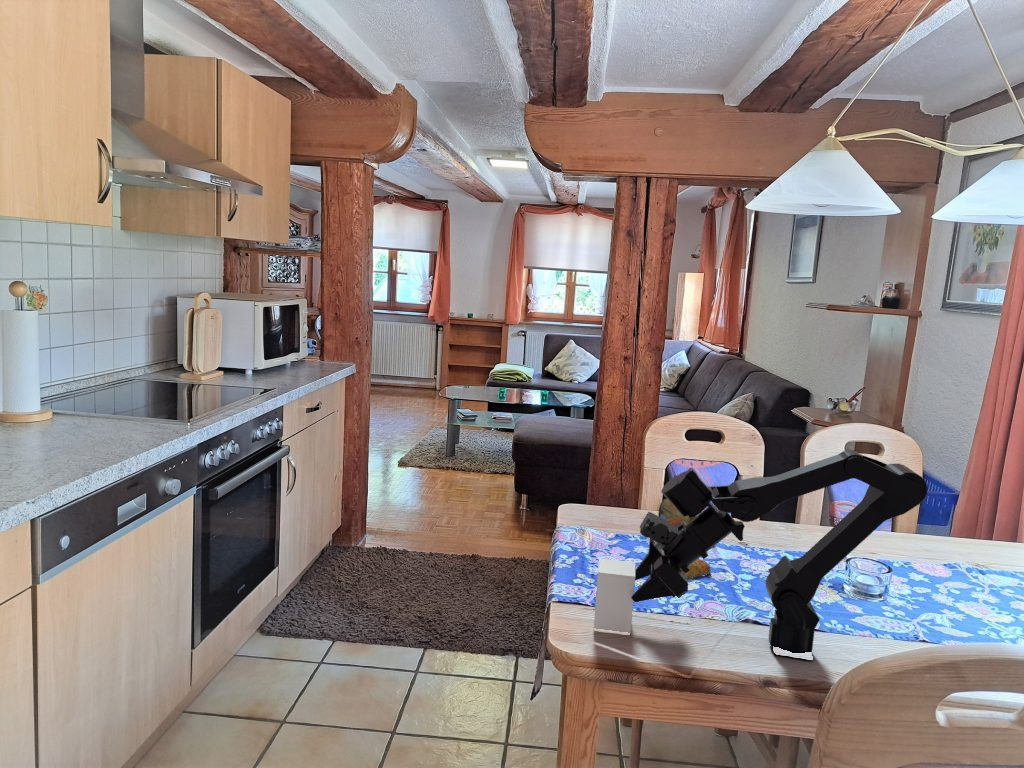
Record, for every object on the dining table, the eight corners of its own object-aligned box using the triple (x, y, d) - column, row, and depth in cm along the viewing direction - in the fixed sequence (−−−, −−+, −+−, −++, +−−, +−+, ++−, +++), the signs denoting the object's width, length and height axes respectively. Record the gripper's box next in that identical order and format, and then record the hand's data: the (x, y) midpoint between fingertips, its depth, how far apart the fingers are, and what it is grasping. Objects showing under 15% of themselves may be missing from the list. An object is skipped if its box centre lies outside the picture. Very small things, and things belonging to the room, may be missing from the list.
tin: (656, 525, 187) (658, 494, 186) (667, 525, 188) (669, 493, 187) (686, 547, 173) (689, 513, 172) (698, 546, 174) (701, 512, 173)
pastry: (699, 566, 162) (701, 549, 162) (717, 578, 156) (718, 561, 155) (663, 569, 159) (664, 552, 159) (679, 582, 153) (680, 565, 152)
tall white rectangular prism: (630, 621, 134) (635, 562, 132) (630, 638, 127) (635, 576, 125) (595, 616, 135) (599, 558, 133) (593, 633, 128) (597, 572, 126)
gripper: (666, 486, 135) (604, 537, 138) (672, 518, 117) (600, 576, 120) (706, 530, 135) (643, 580, 138) (718, 569, 117) (645, 625, 120)
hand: (632, 588), depth 129 cm, fingers open, 9 cm apart
